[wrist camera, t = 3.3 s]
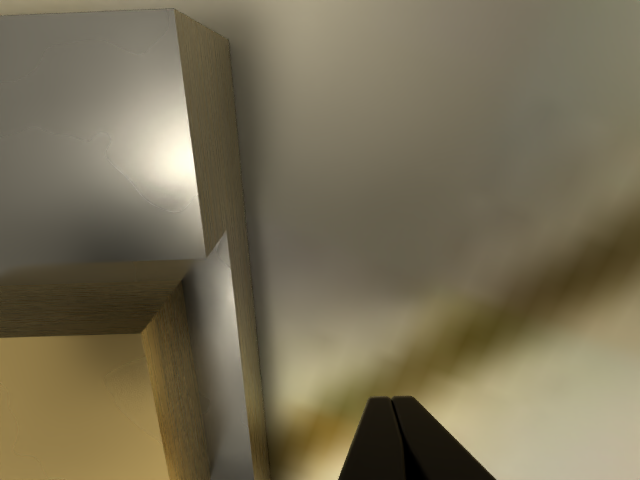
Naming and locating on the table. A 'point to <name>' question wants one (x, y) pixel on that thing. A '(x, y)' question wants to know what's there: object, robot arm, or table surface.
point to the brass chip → (98, 384)
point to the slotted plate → (136, 188)
